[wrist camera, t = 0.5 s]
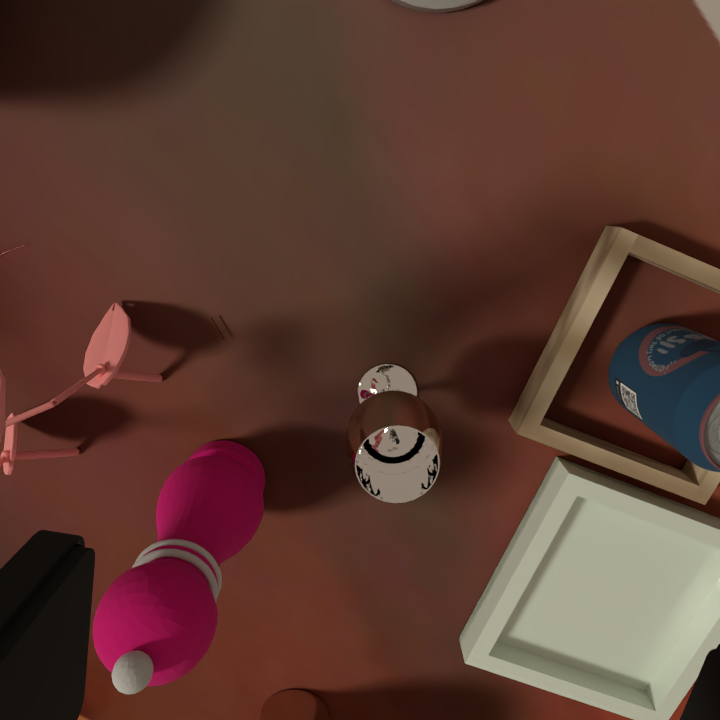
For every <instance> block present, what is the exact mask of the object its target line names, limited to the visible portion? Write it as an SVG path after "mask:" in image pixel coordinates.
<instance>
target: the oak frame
mask: <svg viewBox="0 0 720 720" xmlns="http://www.w3.org/2000/svg"><path fill="white" fill-rule="evenodd" d="M627 255H630V256H632V257H634V258H637V259H639V260H641V261H644V262H646V263H649V264H651V265H653V266H656V267H658V268H660V269H663V270H665V271H667V272H670V273H672V274H675V275H677V276H679V277H682V278H684V279H686V280H689V281H691V282H693V283H696V284H698V285H700V286H703V287H705V288H708V289H710V290H712V291H715V292H717V293H719V294H720V269H718V268H715V267H713V266H711V265H708V264H706V263H704V262H701V261H699V260H697V259H694V258H692V257H690V256H687V255H685V254H683V253H680V252H678V251H676V250H673V249H671V248H669V247H666V246H664V245H662V244H659V243H657V242H655V241H652V240H650V239H648V238H645V237H643V236H641V235H638V234H636V233H634V232H631V231H629V230H627V229H624V228H622V227H615V226H607V225H606V227H605V229H604V231H603V233H602V235H601V236H600V238H599V240H598V242H597V244H596V246H595V248H594V250H593V252H592V254H591V256H590V258H589V260H588V262H587V264H586V266H585V268H584V270H583V272H582V274H581V276H580V278H579V280H578V282H577V284H576V286H575V288H574V290H573V292H572V294H571V296H570V298H569V300H568V302H567V304H566V306H565V308H564V310H563V312H562V314H561V316H560V318H559V320H558V322H557V324H556V326H555V328H554V330H553V332H552V334H551V336H550V338H549V340H548V342H547V344H546V346H545V348H544V350H543V352H542V354H541V356H540V358H539V360H538V362H537V364H536V366H535V368H534V370H533V372H532V374H531V376H530V378H529V380H528V382H527V384H526V386H525V388H524V390H523V392H522V394H521V396H520V398H519V400H518V402H517V404H516V406H515V408H514V410H513V412H512V414H511V416H510V418H509V420H508V421H509V422H510V424H511V426H512V427H513V429H514V430H515V432H516V433H517V434H519V435H522V436H524V437H527V438H530V439H532V440H535V441H537V442H540V443H543V444H545V445H548V446H551V447H553V448H556V449H559V450H561V451H564V452H566V453H569V454H572V455H574V456H577V457H580V458H582V459H585V460H587V461H590V462H593V463H595V464H598V465H601V466H603V467H606V468H609V469H611V470H614V471H616V472H619V473H622V474H624V475H627V476H630V477H632V478H635V479H638V480H640V481H643V482H645V483H648V484H651V485H653V486H656V487H659V488H661V489H664V490H667V491H669V492H672V493H674V494H677V495H680V496H682V497H685V498H688V499H690V500H693V501H695V502H698V503H701V504H703V505H705V504H706V503H707V501H708V500H709V498H710V497H711V495H712V493H713V492H714V490H715V489H716V487H717V485H718V484H719V482H720V472H714V471H709V470H706V469H703V468H701V467H699V466H697V465H695V464H694V463H692V462H691V461H690V460H687V462H686V463H685V465H684V467H683V468H682V470H679V469H676V468H674V467H671V466H668V465H666V464H663V463H661V462H658V461H655V460H653V459H650V458H648V457H645V456H642V455H640V454H637V453H635V452H632V451H629V450H627V449H624V448H622V447H619V446H616V445H614V444H611V443H609V442H606V441H603V440H601V439H598V438H596V437H593V436H590V435H588V434H585V433H583V432H580V431H577V430H575V429H572V428H570V427H567V426H564V425H562V424H559V423H557V422H554V421H551V420H549V419H546V418H544V415H545V413H546V412H547V410H548V408H549V406H550V404H551V402H552V400H553V398H554V396H555V394H556V392H557V390H558V388H559V386H560V385H561V383H562V381H563V379H564V377H565V375H566V373H567V371H568V369H569V367H570V365H571V363H572V361H573V359H574V358H575V356H576V354H577V352H578V350H579V348H580V346H581V344H582V342H583V340H584V338H585V336H586V334H587V332H588V331H589V329H590V327H591V325H592V323H593V321H594V319H595V317H596V315H597V313H598V311H599V309H600V307H601V306H602V304H603V302H604V300H605V298H606V296H607V294H608V292H609V290H610V288H611V286H612V284H613V282H614V280H615V279H616V277H617V275H618V273H619V271H620V269H621V267H622V265H623V263H624V261H625V259H626V257H627Z"/></svg>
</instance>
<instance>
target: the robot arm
mask: <svg viewBox="0 0 720 720" xmlns="http://www.w3.org/2000/svg"><path fill="white" fill-rule="evenodd" d="M391 1H393V2H395V3H397V4H399V5H401V6H403V7H406V8H410V9H413V10H417V11H421V12H432V13H445V12H451V11H457V10H462V9H465V8H467V7H470V6H472V5H475V4H478V3H480V2H482V1H483V0H391ZM94 564H95V552H94V550H93V549H92V548H86V547H85V543H84V539H83V537H81V536H78V535H72V534H66V533H59V532H53V531H47V530H41V531H38V532H37V533H36V534H34V535H33V537H32V538H31V539H30V540H29V541H28V542H27V543H26V544H25V545H24V546H23V547H22V548H21V549H20V550H19V551H18V552H17V553H16V554H15V555H14V556H13V557H12V558H11V559H10V560H9V561H8V562H7V563H6V564H5V565H4V566H3V567H2V568H1V569H0V720H77V719H78V717H79V714H80V711H81V708H82V704H83V700H84V693H85V680H86V667H87V654H88V641H89V629H90V616H91V603H92V590H93V577H94ZM680 720H720V644H719V645H718V646H717V648H716V649H712V650H711V651H709V653H708V654H707V656H706V658H705V661H704V663H703V666H702V668H701V670H700V673H699V675H698V678H697V680H696V682H695V685H694V687H693V689H692V692H691V694H690V697H689V699H688V701H687V704H686V706H685V709H684V711H683V713H682V716H681V718H680Z"/></svg>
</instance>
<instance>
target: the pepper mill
mask: <svg viewBox="0 0 720 720" xmlns="http://www.w3.org/2000/svg"><path fill="white" fill-rule="evenodd" d="M265 480H266V478H265V471H264V468H263V465H262V463H261V462H260V460H259V458H258V457H257V456H256V455H255V454H254V453H253V452H252V451H251V450H250V449H248V448H247V447H245V446H243V445H241V444H239V443H236V442H232V441H226V440H220V441H212V442H209V443H206V444H204V445H202V446H200V447H199V448H198V449H196V450H195V451H194V452H193V453H192V455H191V456H190V457H189V459H188V460H187V461H186V462H185V463H183V464H182V465H180V466H179V467H177V468H176V469H175V470H174V471H173V472H172V473H171V474H170V476H169V477H168V478H167V480H166V482H165V484H164V486H163V488H162V490H161V492H160V495H159V498H158V503H157V511H156V524H157V531H158V542H156V543H154V544H152V545H150V546H149V547H148V548H146V549H145V550H144V551H143V552H142V553H141V554H140V555H139V557H138V558H137V560H136V562H135V564H134V565H133V566H132V568H131V569H129V570H128V571H126V572H125V573H123V574H122V575H120V576H119V577H118V578H117V579H116V580H115V581H114V582H113V583H112V584H111V586H110V587H109V588H108V589H107V591H106V592H105V593H104V595H103V597H102V599H101V601H100V604H99V606H98V608H97V610H96V614H95V618H94V623H93V639H94V645H95V650H96V652H97V654H98V656H99V658H100V660H101V661H102V663H103V664H104V665H105V667H106V668H107V669H108V670H109V671H110V672H112V681H113V684H114V686H115V687H116V689H117V690H118V691H119V692H122V693H124V694H134V693H137V692H139V691H141V690H143V689H144V688H145V687H146V686H158V685H163V684H167V683H170V682H173V681H175V680H177V679H179V678H181V677H182V676H184V675H186V674H187V673H189V672H190V671H191V670H192V669H193V668H194V667H195V666H196V665H197V664H198V663H199V662H200V660H201V659H202V658H203V656H204V655H205V653H206V652H207V650H208V649H209V646H210V644H211V642H212V640H213V637H214V634H215V630H216V626H217V605H216V600H217V596H218V594H219V592H220V588H221V583H222V578H221V572H220V569H219V566H220V564H221V563H222V562H224V561H225V560H227V559H228V558H230V557H232V556H234V555H235V554H236V553H238V552H239V551H240V550H241V549H242V548H243V547H244V546H245V545H246V544H247V543H248V542H249V541H250V540H251V539H252V537H253V536H254V534H255V532H256V531H257V529H258V526H259V524H260V522H261V519H262V516H263V510H264V500H263V491H264V487H265Z"/></svg>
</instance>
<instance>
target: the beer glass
mask: <svg viewBox="0 0 720 720" xmlns="http://www.w3.org/2000/svg"><path fill="white" fill-rule="evenodd" d="M260 720H330V716H329V711H328V709H327V706H326V705H325V703H324V702H323V701H322V700H321V699H320V698H319V697H317V696H316V695H314V694H312V693H310V692H307V691H304V690H297V689H292V690H285V691H281V692H279V693H276V694H275V695H273V696H272V697H270V698H269V699H268V700H267V701H266V703H265V704H264V706H263V708H262V711H261V716H260Z"/></svg>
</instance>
